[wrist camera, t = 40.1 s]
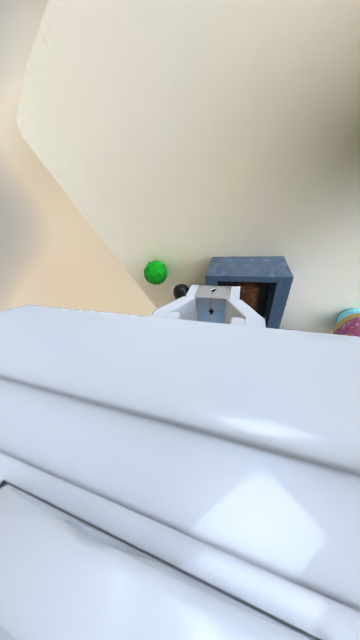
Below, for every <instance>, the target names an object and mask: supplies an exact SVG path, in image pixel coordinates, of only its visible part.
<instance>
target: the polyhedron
mask: <svg viewBox="0 0 360 640" xmlns="http://www.w3.org/2000/svg"><path fill="white" fill-rule="evenodd" d="M144 274H145V278H146V280H147V281H148V282H150V283H152V284H154V285H155V284H160V283H162V282H163V281H164V280H165V279H166V277H167V269H166V267H165V265H164V264H162V263H160V262H158V261H153V262H149V263H148V264H147V266H146V267H145V269H144Z"/></svg>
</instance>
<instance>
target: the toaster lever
mask: <svg viewBox="0 0 360 640" xmlns="http://www.w3.org/2000/svg"><path fill="white" fill-rule="evenodd" d="M188 290H189V287H188V286H187V285H185V284H179V285H177V286H176V287H175V288H174V296H175V298H176V299H179V298H181V297H183V296H184V297H185V296H186V294H187V292H188Z"/></svg>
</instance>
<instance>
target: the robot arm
mask: <svg viewBox="0 0 360 640" xmlns="http://www.w3.org/2000/svg"><path fill="white" fill-rule="evenodd" d="M239 299H240V286H232V287H231V286H208V285H191V286H190V288H189V290H188V292H187V294H186V296H185V297H184V296H183V297H181V298H179V299H177V300H175V301H172V302H170V303H168V304H166V305H164V306H162V307H160V308H158V309H156V310H155V311H154V312H153V313H152V315H151V316H139V315H130V314H119V313H109V312H98V311H87V310H77V309H68V308H57V307H46V306H38V305H25V306H20V307H16V308H12V309H9V310H5V311H2V312H0V640H360V337H357V336H347V335H336V334H326V333H316V332H305V331H295V330H285V329H274V328H266V325H265V319H264V318H263V317H262V316H260V315H259V314H258V313H257V312H256V311H254V310H253V309H252V308H251V307H250V306H248V305H247V304H246V303H245V302H244V301H242V300H239Z"/></svg>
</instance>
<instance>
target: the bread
mask: <svg viewBox="0 0 360 640" xmlns="http://www.w3.org/2000/svg"><path fill="white" fill-rule="evenodd" d="M237 286H240V299H239V300H242V301H244V302H245V303H246V304H247V305H248V306H250V307H251V308H252V309H253V310H254V311H256V312H257V306H258V299H259V290H260V282H238V284H237Z"/></svg>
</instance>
